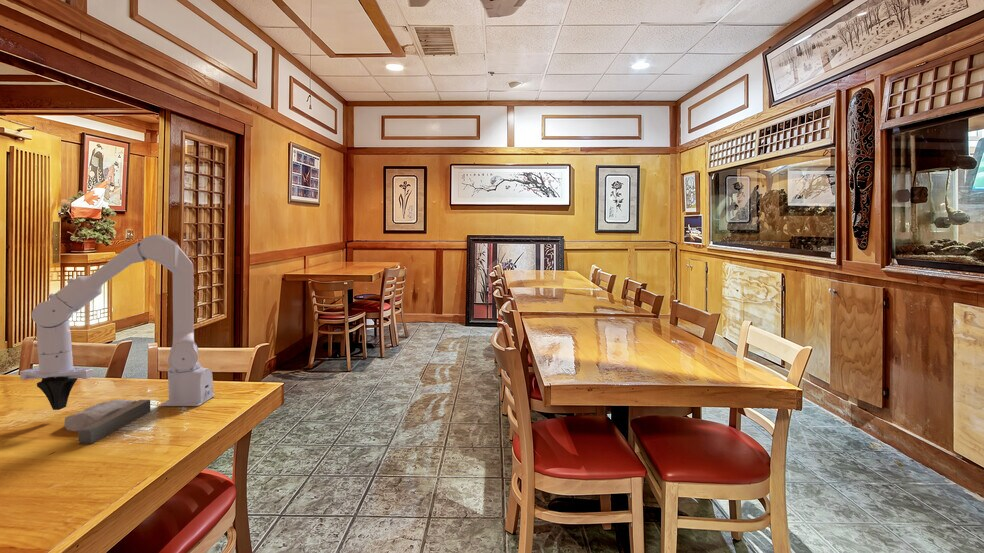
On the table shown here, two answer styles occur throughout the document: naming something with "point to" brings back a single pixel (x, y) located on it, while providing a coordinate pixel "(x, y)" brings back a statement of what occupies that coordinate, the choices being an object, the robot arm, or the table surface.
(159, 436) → the table surface
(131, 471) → the table surface
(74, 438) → the table surface
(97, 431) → the bar
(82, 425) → the stone block
